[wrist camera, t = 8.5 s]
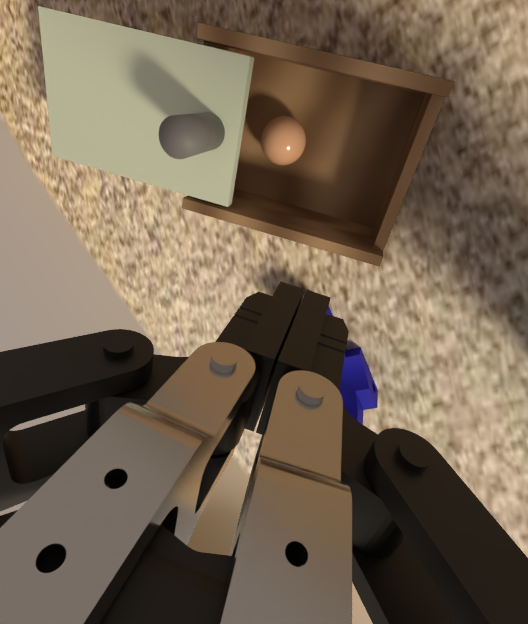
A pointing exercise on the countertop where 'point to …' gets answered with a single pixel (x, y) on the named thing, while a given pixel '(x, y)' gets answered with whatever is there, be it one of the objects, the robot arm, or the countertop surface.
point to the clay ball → (283, 140)
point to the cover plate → (145, 104)
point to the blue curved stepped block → (357, 383)
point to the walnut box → (327, 145)
